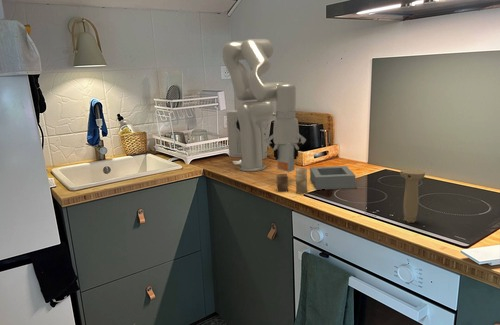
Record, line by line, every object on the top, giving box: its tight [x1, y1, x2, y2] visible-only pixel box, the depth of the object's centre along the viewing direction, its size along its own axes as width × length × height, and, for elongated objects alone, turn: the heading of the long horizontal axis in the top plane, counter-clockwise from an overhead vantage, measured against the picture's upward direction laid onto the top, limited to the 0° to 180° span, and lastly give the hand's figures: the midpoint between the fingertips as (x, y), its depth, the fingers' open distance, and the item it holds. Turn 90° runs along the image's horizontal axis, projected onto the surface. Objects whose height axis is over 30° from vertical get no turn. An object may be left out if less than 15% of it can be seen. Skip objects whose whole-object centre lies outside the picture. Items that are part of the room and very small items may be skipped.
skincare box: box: [276, 143, 296, 173], centre depth 154 cm, size 6×4×12 cm
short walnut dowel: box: [276, 173, 289, 193], centre depth 145 cm, size 4×4×6 cm
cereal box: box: [226, 109, 270, 160], centre depth 205 cm, size 22×8×25 cm, turn 60°
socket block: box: [309, 165, 356, 191], centre depth 151 cm, size 15×15×5 cm
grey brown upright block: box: [295, 167, 308, 195], centre depth 141 cm, size 4×4×9 cm
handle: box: [399, 168, 426, 223], centre depth 109 cm, size 5×6×15 cm
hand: (285, 158), depth 154 cm, fingers closed on skincare box, 7 cm apart
